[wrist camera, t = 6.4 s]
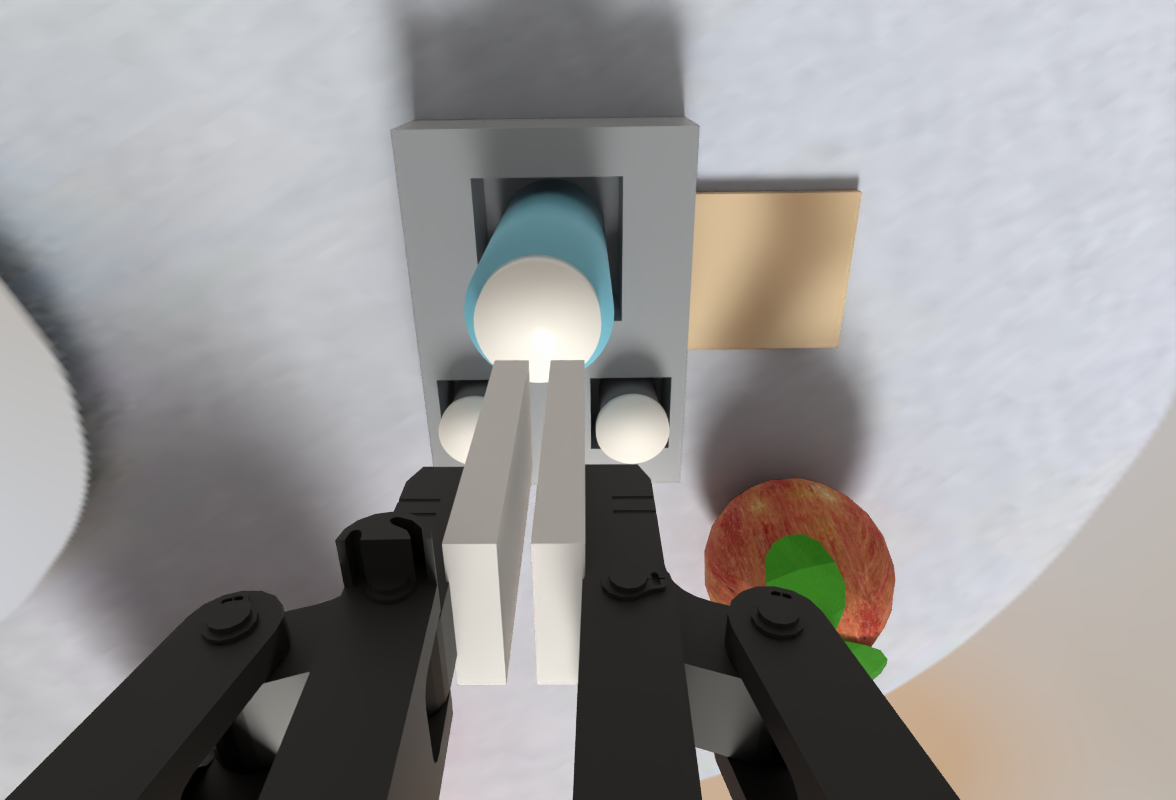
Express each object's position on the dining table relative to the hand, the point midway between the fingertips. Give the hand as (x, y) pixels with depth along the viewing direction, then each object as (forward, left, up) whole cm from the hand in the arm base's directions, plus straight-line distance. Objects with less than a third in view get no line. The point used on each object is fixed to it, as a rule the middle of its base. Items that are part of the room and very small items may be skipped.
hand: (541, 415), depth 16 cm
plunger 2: (+3, -6, -15) cm, 16 cm away
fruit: (+11, -15, -17) cm, 25 cm away
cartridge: (0, +1, -16) cm, 16 cm away
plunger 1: (-4, -6, -15) cm, 17 cm away
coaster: (+9, -1, -17) cm, 19 cm away
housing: (0, -2, -16) cm, 17 cm away
